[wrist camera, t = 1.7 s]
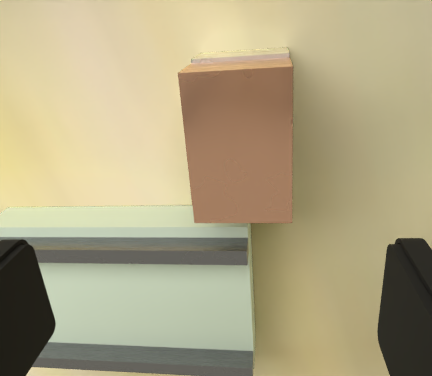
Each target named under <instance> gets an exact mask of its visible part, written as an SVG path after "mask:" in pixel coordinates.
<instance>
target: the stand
mask: <svg viewBox="0 0 432 376" xmlns="http://www.w3.org/2000/svg"><path fill="white" fill-rule="evenodd" d="M5 239H23V240H26V241H27V242H28V244H29V245H32V247H33V248H34V250H35V254H36V257H37V261H38V264H39V267H40V271H41V274H42V277H43V281H44V284H45V287H46V291H47V294H48V298H49V301H50V304H51V308H52V311H53V314H54V318H55V322H56V326H55V331H54V333H53V335H52V337H51V338H50V340H49V341H48V343H47V344H46V346H45V347H44V349H43V350H42V352H41V353H40V355H39V356H38V358H37V359H36V361H35V362H34V364H33V365H32V367H44V368H62V369H81V370H100V371H118V372H137V373H156V374H174V375H193V376H253V369H254V362H255V340H256V336H255V313H254V289H253V266H252V243H251V223H194V215H193V206H192V205H182V206H76V207H8V208H6V209H5V210H4V211H2V212H1V213H0V241H1V240H5Z"/></svg>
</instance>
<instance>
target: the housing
mask: <svg viewBox="0 0 432 376" xmlns="http://www.w3.org/2000/svg"><path fill="white" fill-rule="evenodd" d="M178 78H179V87H180V97H181V106H182V115H183V124H184V133H185V142H186V151H187V160H188V169H189V178H190V187H191V196H192V206H193V215H194V223H292V155H293V65H292V62H291V60H290V53H289V50H288V48H287V47H282V48H267V49H252V50H237V51H221V52H206V53H200V54H198V55H197V56H195V57H194V58H192V59H191V64H190V65H188V66H187V67H186V68H184V69H183V70H182V71H180V72H179V73H178Z"/></svg>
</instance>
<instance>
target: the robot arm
mask: <svg viewBox="0 0 432 376" xmlns="http://www.w3.org/2000/svg"><path fill="white" fill-rule="evenodd" d="M55 326H56V322H55V318H54V314H53V311H52V308H51V304H50V301H49V298H48V294H47V291H46V287H45V284H44V281H43V277H42V274H41V271H40V267H39V264H38V261H37V257H36V254H35V250H34V248H33V247H32V245H29V244H28V242H27V241H26V240H23V239H5V240H1V241H0V376H26V374H27V373H28V371H29V370H30V368H31V367H32V365H33V364H34V362H35V361H36V359H37V358H38V356H39V355H40V353H41V352H42V350H43V349H44V347H45V346H46V344H47V343H48V341H49V340H50V338H51V337H52V335H53V333H54V331H55ZM378 341H379V345H380V348H381V351H382V354H383V357H384V360H385V363H386V366H387V368H388V371H389V374H390V376H432V250H431V248H430V247H429V245H428V244H427V242H426V241H425V240H424V239H422V238H398V239H397V240H396V242H395V244H389V245H388V247H387V253H386V262H385V270H384V279H383V287H382V296H381V305H380V313H379V322H378Z"/></svg>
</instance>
